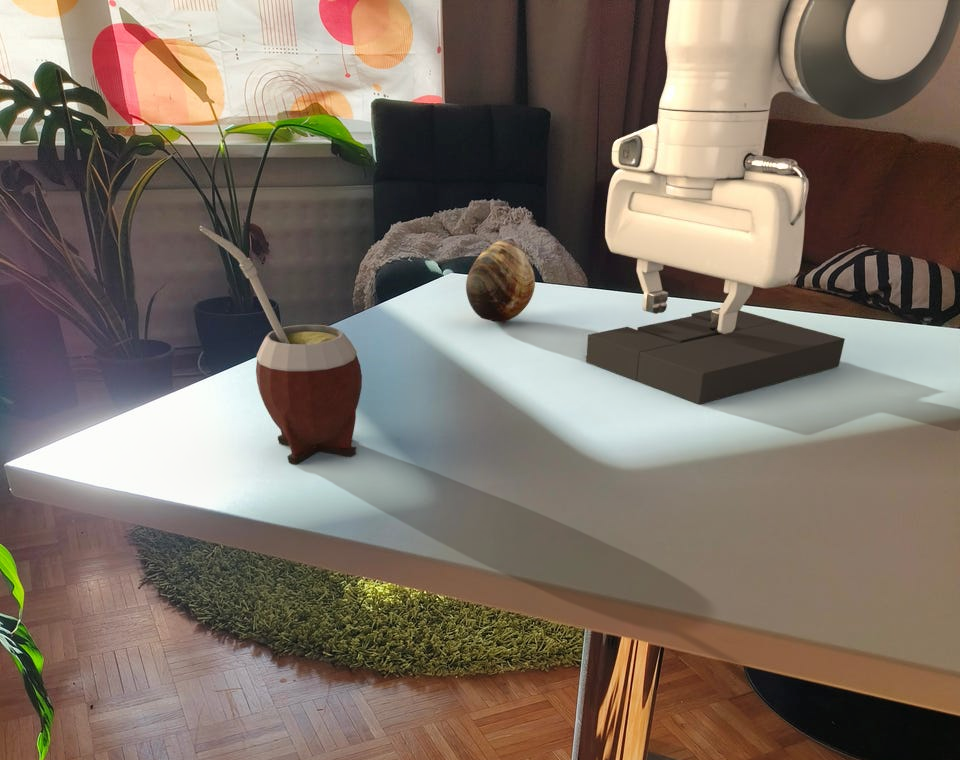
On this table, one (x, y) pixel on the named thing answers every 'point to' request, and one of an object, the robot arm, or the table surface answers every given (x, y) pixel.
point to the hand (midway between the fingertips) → (686, 321)
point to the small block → (680, 329)
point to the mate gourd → (305, 378)
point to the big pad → (716, 357)
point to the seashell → (500, 282)
